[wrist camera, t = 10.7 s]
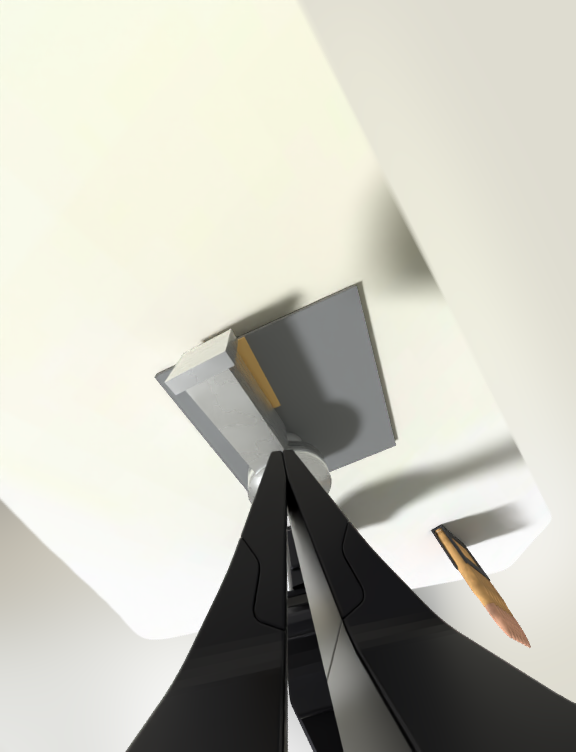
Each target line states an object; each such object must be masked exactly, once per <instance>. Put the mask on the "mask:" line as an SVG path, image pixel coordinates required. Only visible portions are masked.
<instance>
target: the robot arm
mask: <svg viewBox="0 0 576 752" xmlns="http://www.w3.org/2000/svg"><path fill="white" fill-rule="evenodd" d="M287 511H288V516H289V521H290V525H291V527H290V528H288V529H287ZM348 521H349V520H348V519H347V517H346V516H345V515H344V514H343V512H342V511H341V510H340V508H339V507H338V506H337V505H336V503H335V502H334V501H333V500H332V498H331V497H330V496H329V495H328V493H327V492H326V491H325V490H324V488H323V487H322V486H321V485H320V483H319V482H318V481H317V479H316V478H315V477H314V476H313V474H312V473H311V472H310V471H309V469H308V468H307V467H306V466H305V464H304V463H303V462H302V461H301V459H300V458H299V457H298V456H297V454H296V453H295V452H294V451H293V450H292V449H290V450H283V451H282V452H281V451H272V452H271V453H270V456H269V458H268V461H267V464H266V467H265V470H264V472H263V475H262V478H261V481H260V484H259V486H258V489H257V492H256V495H255V498H254V500H253V503H252V506H251V509H250V512H249V514H248V517H247V520H246V523H245V526H244V528H243V531H242V534H241V538H240V539H239V542H238V545H237V547H236V550H235V553H234V555H233V558H232V561H231V563H230V566H229V568H228V571H227V573H226V575H225V577H224V580H223V582H222V584H221V586H220V589H219V591H218V593H217V595H216V597H215V599H214V601H213V603H212V605H211V608H210V610H209V612H208V614H207V616H206V618H205V620H204V622H203V624H202V626H201V628H200V630H199V632H198V635H197V637H196V639H195V641H194V643H193V645H192V647H191V649H190V651H189V653H188V655H187V657H186V659H185V661H184V663H183V665H182V667H181V669H180V670H179V673H178V674H177V676H176V678H175V679H174V681H173V683H172V685H171V686H170V688H169V689H168V691H167V692H166V694H165V696H164V697H163V699H162V700H161V702H160V703H159V704H158V706H157V707H156V709H155V710H154V711H153V713H152V714H151V716H150V717H149V719H148V720H147V722H146V723H145V724H144V726H143V728H142V729H141V730H140V732H139V733H138V734H137V736H136V737H135V739H134V740H133V742H132V743H131V745H130V746H129V747H128V749H127V750H126V752H288V717H287V716H288V691H287V687H288V686H289V695H290V702H291V705H292V707H293V709H294V712H295V714H296V716H297V718H298V720H299V722H300V724H301V726H302V728H303V730H304V733H305V735H306V737H307V739H308V741H309V743H310V745H311V747H312V750H313V752H576V703H574V702H571V701H570V700H568V699H566V698H564V697H563V696H561V695H559V694H557V693H555V692H554V691H552V690H551V689H549V688H547V687H546V686H544V685H543V684H541V683H539V682H538V681H536V680H535V679H533V678H532V677H530V676H528V675H527V674H525V673H523V672H522V671H520V670H519V669H517V668H515V667H514V666H512V665H511V664H509V663H508V662H506V661H504V660H503V659H501V658H500V657H498V656H496V655H495V654H493V653H492V652H490V651H488V650H487V649H485V648H484V647H482V646H481V645H479V644H477V643H476V642H474V641H472V640H471V639H469V638H468V637H466V636H465V635H463V634H461V633H460V632H458V631H457V630H455V629H454V628H453V627H451V626H450V625H448V624H447V623H446V622H445V621H443V620H442V619H441V618H440V617H438V616H437V615H436V614H435V613H434V612H433V611H432V610H431V609H430V608H429V607H428V606H427V605H426V604H425V603H424V602H423V601H422V600H421V599H420V598H419V597H418V596H417V595H416V594H415V593H414V592H413V591H412V590H411V589H410V588H409V587H408V585H407V584H406V583H405V582H404V581H403V580H402V579H401V578H400V577H399V576H398V575H397V574H396V573H395V572H394V571H393V570H392V569H391V568H390V567H389V566H388V565H387V564H386V563H385V562H384V561H383V560H382V558H381V557H380V556H379V555H378V554H377V553H376V552H375V551H374V550H373V549H372V548H371V547H370V545H369V544H368V543H367V542H366V541H365V539H364V538H363V537H362V536H361V535H360V533H359V532H358V531H357V530H356V528H355V527H354V526H353V525H352V523H351V522H348ZM287 572H288V581H289V590H290V591H287ZM287 684H288V686H287Z"/></svg>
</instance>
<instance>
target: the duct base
mask: <svg viewBox="0 0 576 752" xmlns="http://www.w3.org/2000/svg"><path fill="white" fill-rule="evenodd" d="M237 339H238V346H237V351H238V353H239V355H240V356H241V358H242V359H243V361H244V362H245V364H246V365H247V367H248V369H249V370H250V372H251V373H252V375H253V376H254V378H255V380H256V381H257V383H258V384H259V386H260V387H261V389H262V391H263V392H264V394H265V395H266V397H267V398H268V400H269V401H270V403H271V405H272V406H273V408H274V409H275V411H276V412H277V414H278V416H279V417H280V419H281V420H282V422H283V423H284V425H285V429H286V434H287V439H288V441H302V442H306V443H309V444H311V445H313V446H315V447H316V448H317V449H318V450H319V451H320V452H321V453H322V455H323V457H324V459H325V462H326V465H327V468H328V470H329V472H331V471H333V470H336V469H338V468H341V467H343V466H346V465H348V464H351V463H353V462H356V461H358V460H361V459H363V458H366V457H368V456H371V455H373V454H376V453H378V452H381V451H383V450H386V449H388V448H391V447H393V446H396V443H395V439H394V435H393V431H392V427H391V423H390V419H389V415H388V411H387V406H386V402H385V398H384V394H383V390H382V386H381V382H380V378H379V374H378V370H377V366H376V362H375V358H374V354H373V349H372V345H371V341H370V337H369V333H368V329H367V325H366V321H365V317H364V313H363V309H362V305H361V301H360V296H359V292H358V288H357V286H356V285H352V286H350V287H348V288H345V289H343V290H341V291H339V292H337V293H334V294H332V295H330V296H328V297H326V298H323V299H321V300H319V301H317V302H314V303H312V304H310V305H308V306H306V307H303V308H301V309H299V310H297V311H295V312H292V313H290V314H288V315H286V316H283V317H281V318H279V319H277V320H275V321H272V322H270V323H268V324H266V325H264V326H261V327H259V328H257V329H255V330H253V331H250V332H248V333H246V334H244V335H241V336H239V337H237ZM175 366H176V365H175ZM175 366H173V367H171V368H168V369H166V370H164V371H162V372H160V373H157V374H156V376H155V378H156V380H157V381H158V382H159V383H160V385H161V386H162V387H163V388H164V390H165V391H166V392H167V393H168V394H169V396H170V397H171V398H172V399H173V401H174V402H175V403H176V404H177V405H178V407H179V408H180V409H181V410H182V412H183V413H184V414H185V415H186V417H187V418H188V419H189V420H190V421H191V423H192V424H193V425H194V426H195V428H196V429H197V430H198V431H199V432H200V434H201V435H202V436H203V437H204V439H205V440H206V441H207V442H208V443H209V445H210V446H211V447H212V448H213V450H214V451H215V452H216V453H217V455H218V456H219V457H220V458H221V459H222V461H223V462H224V463H225V464H226V466H227V467H228V468H229V469H230V470H231V472H232V473H233V474H234V475H235V477H236V478H237V479H238V480H239V482H240V483H241V484H242V485H243V486H244V488H245V489H246V490H247V491H248V469H249V465H248V464H247V463H246V461H245V460H244V459H243V458H242V457H241V456H240V454H239V453H238V452H237V451H236V450H235V448H234V447H233V446H232V445H231V444H230V443H229V441H228V440H227V439H226V438H225V437H224V435H223V434H222V433H221V432H220V431H219V430H218V428H217V427H216V426H215V425H214V424H213V422H212V421H211V420H210V419H209V418H208V417H207V415H206V414H205V413H204V412H203V411H202V409H201V408H200V407H199V406H198V405H197V404H196V402H195V401H194V400H193V399H192V398H191V396H190V395H189V394H188V393H187V392H186V390H185V391H183V392H181V393H179V394H177V395H175V394H174V393H173V392H172V390H171V389H170V388H169V387H168V386H167V385H166V384H165V381H166V379H167V378H168V376H169V375H170V373H171V372H172V370H173V369H174V367H175Z"/></svg>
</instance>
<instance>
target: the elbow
mask: <svg viewBox="0 0 576 752" xmlns="http://www.w3.org/2000/svg"><path fill="white" fill-rule="evenodd" d="M237 346H238V339H237V338H236V336H235V334H234V333H233V331H232V329H229V330H228V331H226V332H224V333H222V334H220V335H218V336H216V337H214V338H212V339H210V340H208V341H206V342H205V343H203V344H201V345H199V346H197V347H195V348H193V349H191V350H189V351H187V352H185V353H184V354H183V355H182V357H181V358H180V360H179V361H178V363H177V364H176V366H175V367H174V369H173V370H172V372H171V373H170V375H169V376H168V378H167V379H166V381H165V384H166V385H167V386H168V387H169V388H170V389H171V390H172V392H173V393H174V394H175V395H177V394H179V393H181V392H183V391H185V390H186V392H187V393H188V394H189V395H190V396H191V398H192V399H193V400H194V401H195V402H196V404H197V405H198V406H199V407H200V408H201V409H202V411H203V412H204V413H205V414H206V415H207V417H208V418H209V419H210V420H211V421H212V422H213V424H214V425H215V426H216V427H217V428H218V430H219V431H220V432H221V433H222V434H223V435H224V437H225V438H226V439H227V440H228V441H229V443H230V444H231V445H232V446H233V447H234V448H235V450H236V451H237V452H238V453H239V454H240V456H241V457H242V458H243V459H244V460H245V461H246V463H247V464H248V465H249V469H248V497H249V500H250V502H251V504H252V503H253V500H254V498H255V495H256V492H257V489H258V486H259V484H260V481H261V478H262V475H263V472H264V470H265V467H266V464H267V461H268V458H269V456H270V453H271V452H272V451H281V452H282V451H283V450H290V449H292V450H293V451H294V452H295V453H296V454H297V456H298V457H299V458H300V459H301V461H302V462H303V463H304V464H305V466H306V467H307V468H308V469H309V471H310V472H311V473H312V474H313V476H314V477H315V478H316V479H317V481H318V482H319V483H320V485H321V486H322V487H323V488H324V490H325V491H326V492H327V493H329V491H330V488H331V476H330V473H329V470H328V468H327V465H326V462H325V459H324V457H323V455H322V453H321V452H320V451H319V450H318V449H317V448H316V447H315V446H313V445H311V444H309V443H306V442H302V441H288V439H287V434H286V429H285V425H284V423H283V422H282V420H281V419H280V417H279V416H278V414H277V412H276V411H275V409H274V408H273V406H272V405H271V403H270V401H269V400H268V398H267V397H266V395H265V394H264V392H263V391H262V389H261V387H260V386H259V384H258V383H257V381H256V380H255V378H254V376H253V375H252V373H251V372H250V370H249V369H248V367H247V365H246V364H245V362H244V361H243V359H242V358H241V356H240V355H239V353H238V351H237ZM287 516H288V511H287Z"/></svg>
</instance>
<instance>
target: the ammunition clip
mask: <svg viewBox="0 0 576 752" xmlns="http://www.w3.org/2000/svg"><path fill="white" fill-rule="evenodd" d="M431 531H432V533H433V534H434V536H435V537H436V539H437V540H438V542H439V543H440V545H441V547H442V548H443V550H444V551H445V553H446V554H447V556H448V557H449V559H450V560H451V562H452V563H453V565H454V566H455V568H456V569H457V570H459V572H460V573H461V575H462V576H463V578H464V579H465V580H466V582H467V584H468V585H469V587H470V588H471V590H472V591H473V592H474V594H475V595H476V596H477V597H478V598H479V599H480V601H481V602H482V604H483V605H484V607H485V608H486V609H487V611H488V612H489V614H490V615H491V617H492V618H493V619H494V621H495V622H496V623H497V624H498V626H499V627H500V628H501V629H502V630H503V631H504V632H505V633H506V634H507V635H508V636H509V637H510V638H513V639H514V640H517V641H518V642H520V643H522V644H524V645H525V646H528V647H529V648H530V647H531V646H530V644H529V641H528V639H527V637H526V635H525V634H524V632H523V630H522V628H521V627H520V625H519V624H518V622H517V621H516V619H515V618H514V617H513V615H512V613H511V612H510V610H509V609H508V607H507V606H506V604H505V602H504V600H503V599H502V597H501V596H500V595H499V593H498V592H497V590H496V589H495V588H494V586H493V585H492V584H491V582H490V579H489V578H488V576H487V575H486V573H485V572H484V571H483V569H482V568H481V567H480V565H479V564H478V562H477V561H476V560H475V558H474V557H473V556H472V554H471V553H470V551H469V550H468V549H467V547H466V546H465V545H464V544H463V543H462V542H461V541H460V540H458V539H457V538H456V537H455V536H454V535H453V534H452V533H450V532H449V531H448V530H447V529H446V528H445V527H444V526H442V525H440V526H438V527H437V528H435V529H433V530H431Z"/></svg>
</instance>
